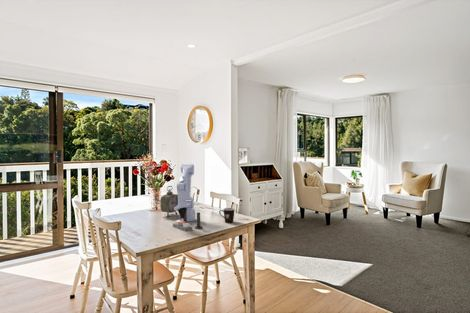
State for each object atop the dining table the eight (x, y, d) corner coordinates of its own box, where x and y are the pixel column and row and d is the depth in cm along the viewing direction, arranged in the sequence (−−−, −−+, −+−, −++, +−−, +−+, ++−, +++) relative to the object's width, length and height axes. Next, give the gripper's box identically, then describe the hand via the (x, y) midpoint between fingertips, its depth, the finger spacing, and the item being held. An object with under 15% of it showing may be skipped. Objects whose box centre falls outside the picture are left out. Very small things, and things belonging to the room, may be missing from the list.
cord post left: (185, 221, 217) (185, 207, 217) (189, 223, 214) (189, 208, 213) (180, 223, 214) (180, 208, 213) (184, 224, 210) (183, 210, 210)
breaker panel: (179, 224, 210) (179, 219, 210) (192, 229, 198) (192, 223, 198) (172, 226, 206) (172, 220, 205) (185, 231, 194) (185, 225, 194)
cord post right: (199, 226, 205) (199, 211, 204) (203, 228, 201) (203, 212, 201) (193, 228, 201) (193, 212, 201) (197, 229, 198) (197, 214, 197)
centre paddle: (182, 223, 204) (182, 220, 204) (185, 224, 202) (185, 221, 201) (178, 224, 202) (178, 221, 202) (181, 225, 199) (181, 222, 199)
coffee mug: (237, 221, 216) (236, 209, 216) (228, 224, 210) (228, 211, 210) (226, 219, 225) (226, 206, 224) (218, 221, 219) (218, 208, 218)
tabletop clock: (168, 218, 228) (167, 187, 227) (159, 216, 232) (159, 186, 231) (179, 214, 241) (179, 185, 240) (171, 213, 245) (170, 184, 244)
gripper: (184, 197, 209) (184, 215, 210) (170, 200, 197) (170, 219, 197) (191, 198, 206) (192, 216, 206) (178, 201, 193) (178, 221, 194)
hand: (182, 218), depth 202 cm, fingers closed
